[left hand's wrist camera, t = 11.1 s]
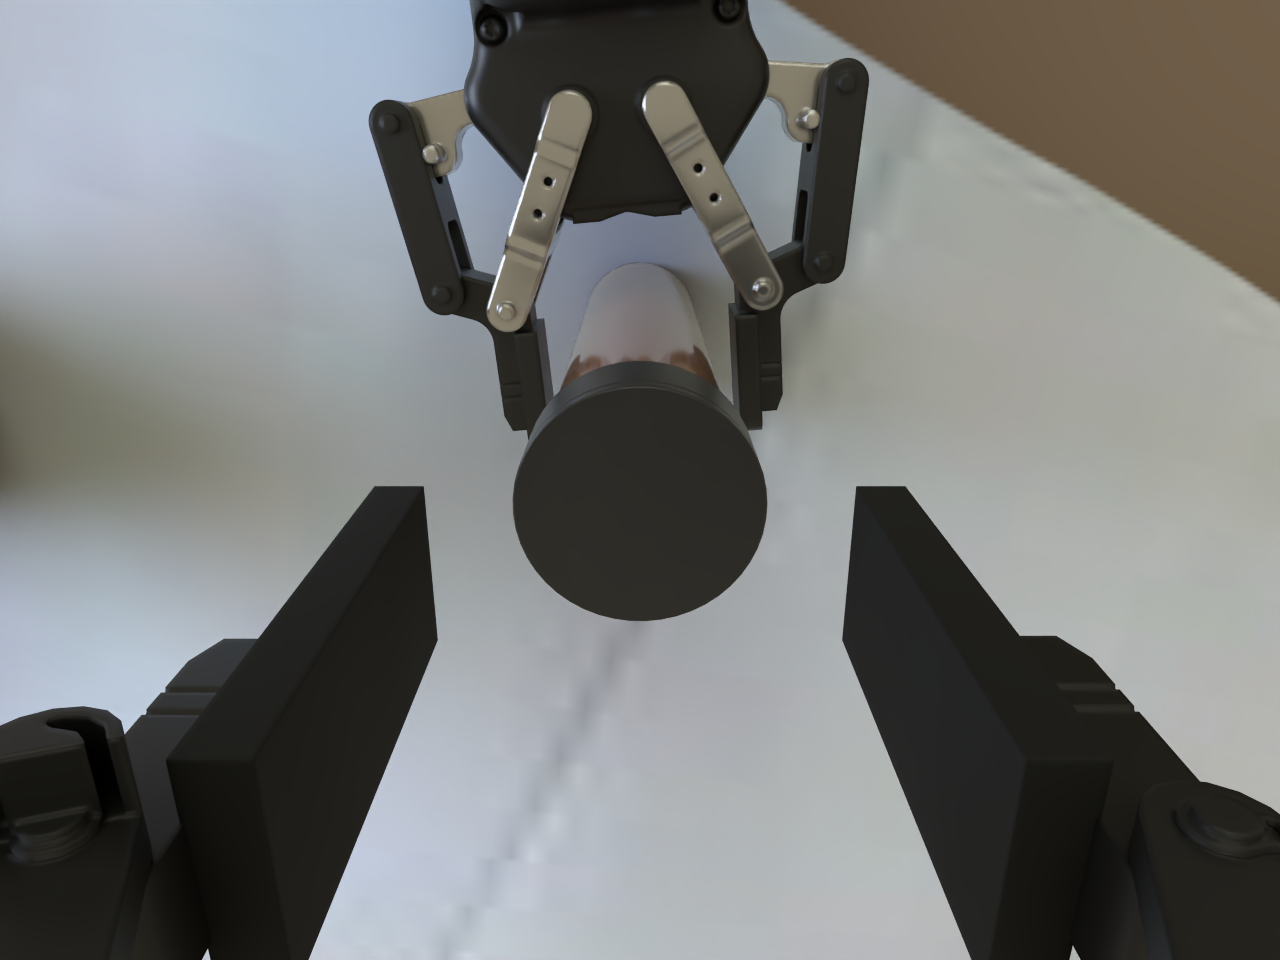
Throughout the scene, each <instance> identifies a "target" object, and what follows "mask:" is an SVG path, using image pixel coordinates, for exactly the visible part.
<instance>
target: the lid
mask: <svg viewBox="0 0 1280 960" xmlns="http://www.w3.org/2000/svg"><path fill="white" fill-rule="evenodd" d="M766 514H767V491H766V484H765V480H764V475H763V471H762V469H761V466H760V463H759V460H758V458H757V455H756V452H755V449H754V447H753V444H752V441H751V439H750V436H749V433H748V430H747V428H746V426H745V424H744V422H743V420H742V418H741V416H740V414H739V413H738V412H737V410H736V409H735V407H734V406H733V405H732V403H731V402H730V401H729V400H728V399H727V398H726V397H725V396H724V395H723V394H722V392H721V391H719V390H718V389H717V388H716V387H714V386H713V385H712V384H711V383H709V382H708V381H706V380H705V379H703V378H701V377H700V376H698V375H696V374H694V373H692V372H690V371H688V370H685V369H683V368H680V367H677V366H674V365H670V364H667V363H660V362H654V361H627V362H619V363H614V364H610V365H606V366H603V367H600V368H597V369H595V370H592V371H590V372H588V373H586V374H584V375H582V376H580V377H578V378H577V379H575V380H574V381H572V382H571V383H570V384H568V385H567V386H565V387H564V388H563V389H562V390H561V391H560V392H559V393H558V394H557V395H556V396H554V397H553V398H552V400H551V401H550V402H549V403H548V405H547V406H546V407H545V408H544V410H543V411H542V413H541V415H540V416H539V418H538V420H537V422H536V424H535V426H534V428H533V431H532V433H531V435H530V438H529V441H528V444H527V446H526V449H525V452H524V454H523V457H522V460H521V462H520V465H519V468H518V472H517V475H516V479H515V483H514V492H513V516H514V521H515V527H516V531H517V534H518V537H519V541H520V544H521V546H522V548H523V550H524V552H525V554H526V556H527V558H528V560H529V561H530V563H531V564H532V566H533V567H534V569H535V570H536V572H537V573H538V574H539V575H540V576H541V577H542V579H543V580H544V581H545V582H546V583H547V584H548V585H549V586H550V587H552V588H553V589H554V590H555V591H556V592H557V593H558V594H560V595H561V596H563V597H564V598H566V599H567V600H568V601H570V602H572V603H574V604H575V605H577V606H579V607H581V608H583V609H585V610H588V611H590V612H593V613H596V614H598V615H602V616H606V617H610V618H614V619H621V620H628V621H650V620H661V619H665V618H670V617H675V616H678V615H681V614H684V613H687V612H690V611H692V610H694V609H697V608H699V607H701V606H703V605H705V604H707V603H708V602H710V601H711V600H713V599H714V598H716V597H718V596H719V595H720V594H721V593H723V592H724V591H725V590H726V589H727V588H729V587H730V586H731V585H732V584H733V583H734V582H735V581H736V580H737V578H738V577H739V576H740V575H741V574H742V573H743V571H744V570H745V569H746V567H747V566H748V564H749V563H750V561H751V560H752V558H753V556H754V554H755V552H756V550H757V548H758V546H759V543H760V540H761V538H762V535H763V531H764V526H765V522H766Z"/></svg>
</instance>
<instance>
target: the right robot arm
mask: <svg viewBox="0 0 1280 960" xmlns="http://www.w3.org/2000/svg"><path fill="white" fill-rule="evenodd" d="M470 7H471V14H472V22H473V29H474V52H473V59H472V63H471V67H470V70H469V72H468V75H467V77H466V81H465V85H464V89H463V90H459V91H455V92H451V93H447V94H443V95H439V96H435V97H431V98H427V99H423V100H419V101H415V102H411V103H407V102H401V101H395V100H384V101H381V102H379V103H377V104H376V105H375V106H374V107H373V109H372V110H371V112H370V115H369V127H370V131H371V134H372V137H373V140H374V143H375V147H376V150H377V153H378V156H379V159H380V163H381V166H382V169H383V172H384V175H385V179H386V182H387V185H388V188H389V191H390V195H391V198H392V201H393V204H394V208H395V211H396V214H397V217H398V220H399V224H400V227H401V230H402V233H403V236H404V240H405V243H406V246H407V249H408V252H409V256H410V259H411V262H412V265H413V268H414V272H415V275H416V278H417V281H418V284H419V288H420V291H421V294H422V297H423V300H424V303H425V304H426V306H427V307H428V308H429V309H430V310H431V311H432V312H434V313H436V314H439V315H450V314H454V315H458V316H461V317H465V318H469V319H473V320H476V321H478V322H480V323H482V324H483V325H484V326H485V327H486V328H487V329H488V330H489V331H490V333H491V335H492V337H493V341H494V347H495V353H496V360H497V367H498V374H499V381H500V388H501V395H502V402H503V409H504V416H505V418H506V419H507V421H508V423H509V425H510V426H511V428H512V430H513V431H518V430H527V434H528V440H529V438H530V435H531V433H532V431H533V428H534V426H535V424H536V422H537V420H538V418H539V416H540V415H541V413H542V411H543V410H544V408H545V407H546V406H547V405H548V403H549V402H550V401H551V400H552V398H553V397H554V395H553V387H552V379H551V371H550V363H549V355H548V346H547V338H546V330H545V322H544V319H537V317H536V309H535V304H536V301H537V298H538V295H539V292H540V289H541V286H542V283H543V280H544V277H545V275H546V272H547V269H548V266H549V263H550V260H551V257H552V254H553V252H554V249H555V247H556V244H557V241H558V238H559V236H560V233H561V230H562V227H563V224H564V221H565V219H567V220H571V221H573V224H578V223H589V222H600V221H603V220H605V219H608V218H610V217H613V216H616V215H618V214H621V213H624V212H633V213H638V214H644V215H649V216H654V217H656V216H667V215H679V214H682V212H681V211H684V210H686V209H688V208H690V207H692V208H693V210H694V211H695V213H696V215H697V217H698V219H699V221H700V222H701V224H702V226H703V228H704V230H705V231H706V233H707V235H708V237H709V238H710V240H711V242H712V244H713V246H714V247H715V249H716V251H717V253H718V255H719V256H720V258H721V260H722V262H723V264H724V266H725V267H726V269H727V271H728V273H729V275H730V277H731V278H732V280H733V282H734V290H735V303H729V304H728V307H729V327H730V347H731V366H732V386H733V405H734V407H735V409H736V410H737V412H738V413H739V414H740V416H741V418H742V420H743V422H744V424H745V426H746V428H747V430H748V431H749V430H761V429H762V411H771V410H777V408H778V405H779V402H780V400H781V397H782V394H783V391H782V363H781V361H782V358H781V325H780V315H781V311H782V308H783V306H784V304H785V302H786V301H787V300H788V299H789V298H790V297H791V296H792V295H794V294H795V293H797V292H799V291H802V290H804V289H806V288H808V287H810V286H813V285H815V284H817V283H820V284H826V283H830V282H832V281H834V280H836V279H837V278H838V277H839V276H840V275H841V273H842V271H843V269H844V266H845V260H846V252H847V245H848V237H849V230H850V222H851V214H852V207H853V199H854V192H855V184H856V177H857V169H858V161H859V154H860V146H861V139H862V131H863V123H864V116H865V108H866V101H867V93H868V86H869V76H868V72H867V70H866V68H865V66H864V65H863V64H862V63H861V62H859V61H858V60H856V59H852V58H844V59H838V60H835V61H832V62H830V63H828V64H817V63H801V62H784V61H768V59H767V56H766V54H765V52H764V50H763V48H762V47H761V45H760V43H759V42H758V40H757V38H756V36H755V33H754V31H753V28H752V25H751V22H750V17H749V11H748V0H470ZM764 98H767V99H769V100H771V101H773V102H774V103H775V104H776V105H777V106H778V108H779V110H780V113H781V117H782V128H783V131H784V133H785V135H786V136H787V137H788V138H789V139H790V140H792V141H794V142H798V143H802V152H801V161H800V170H799V179H798V188H797V197H796V206H795V215H794V224H793V233H792V242H791V243H788V244H786V245H784V246H782V247H780V248H778V249H775V250H773V251H771V252H769V253H767V251H766V249H765V247H764V245H763V243H762V242H761V240H760V238H759V236H758V234H757V232H756V230H755V228H754V226H753V223H752V221H751V219H750V217H749V215H748V213H747V211H746V209H745V207H744V205H743V203H742V201H741V199H740V198H739V196H738V194H737V192H736V190H735V188H734V186H733V184H732V182H731V181H730V179H729V177H728V175H727V173H726V171H725V169H724V167H723V166H724V164H725V163H726V161H727V159H728V158H729V156H730V154H731V153H732V151H733V149H734V148H735V146H736V144H737V143H738V141H739V139H740V138H741V136H742V134H743V133H744V131H745V129H746V128H747V126H748V124H749V123H750V121H751V119H752V118H753V116H754V114H755V113H756V111H757V109H758V108H759V106H760V104H761V103H762V101H763V99H764ZM473 125H474V126H475V127H476V128H477V129H478V130H479V132H480V133H481V134H482V135H483V136H484V137H485V138H486V140H487V141H488V142H489V143H490V144H491V145H492V147H493V148H494V149H495V150H496V151H497V152H498V154H499V155H500V156H501V157H502V158H503V159H504V160H505V162H506V163H507V164H508V165H509V166H510V167H511V169H512V170H513V171H514V172H515V173H516V174H517V175H518V177H519V178H520V179H521V180H522V181H523V182H524V185H523V188H522V191H521V195H520V198H519V201H518V204H517V207H516V210H515V213H514V217H513V220H512V223H511V226H510V229H509V232H508V236H507V239H506V243H505V250H504V254H503V257H502V260H501V263H500V266H499V269H498V273H497V276H495V275H491V274H488V273H484V272H480V271H476V270H474V267H473V264H472V260H471V257H470V253H469V250H468V247H467V243H466V240H465V236H464V233H463V229H462V226H461V222H460V219H459V215H458V212H457V208H456V205H455V202H454V198H453V195H452V191H451V188H450V184H449V181H448V177H447V175H449V174H452V173H454V172H455V171H456V170H457V169H458V168H459V167H460V165H461V162H462V158H463V152H462V139H463V136H464V134H465V132H466V131H467V130H468V129H469V128H470V127H472V126H473Z"/></svg>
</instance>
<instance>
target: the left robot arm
mask: <svg viewBox="0 0 1280 960" xmlns="http://www.w3.org/2000/svg"><path fill="white" fill-rule="evenodd" d="M437 641H438V638H437V627H436V616H435V605H434V594H433V583H432V572H431V561H430V550H429V539H428V528H427V517H426V507H425V496H424V486H375V487H374V488H373V489H372V491H371V492H370V493H369V494H368V496H367V497H366V498H365V500H364V501H363V502H362V504H361V505H360V506H359V508H358V509H357V510H356V511H355V513H354V514H353V515H352V517H351V518H350V519H349V521H348V522H347V523H346V525H345V526H344V527H343V528H342V530H341V531H340V532H339V534H338V535H337V536H336V538H335V539H334V540H333V542H332V543H331V544H330V545H329V547H328V548H327V549H326V551H325V552H324V553H323V555H322V556H321V557H320V559H319V560H318V561H317V562H316V564H315V565H314V566H313V568H312V569H311V570H310V572H309V573H308V574H307V576H306V577H305V578H304V579H303V581H302V582H301V583H300V585H299V586H298V587H297V589H296V590H295V591H294V593H293V594H292V595H291V596H290V598H289V599H288V600H287V602H286V603H285V604H284V606H283V607H282V608H281V610H280V611H279V612H278V613H277V615H276V616H275V617H274V619H273V620H272V621H271V623H270V624H269V625H268V627H267V628H266V629H265V630H264V632H263V633H262V634H261V636H260V637H259V638H258V639H223V640H222V641H220V642H218V643H217V644H215V645H214V646H212V647H210V648H209V649H207V650H205V651H204V652H202V653H201V654H199V655H197V656H196V657H194V658H193V659H191V660H189V661H188V662H187V663H186V664H185V666H184V667H183V668H182V669H181V670H180V671H179V673H178V674H177V675H176V676H175V677H174V678H173V679H172V681H171V682H170V683H169V684H168V685H167V686H166V690H165V693H160V694H159V696H158V697H157V698H156V699H155V700H154V701H153V703H152V704H151V705H150V706H149V707H148V708H147V713H146V715H141V716H140V718H139V719H138V720H137V721H136V722H135V723H134V724H133V726H132V727H131V728H130V729H129V730H128V731H127V733H126V734H125V735H124V731H123V727H122V723H121V720H119V719H118V718H117V717H115V716H114V715H113V714H111V713H110V712H109V711H107V710H102V709H96V708H90V707H85V706H82V707H69V708H57V709H50V710H46V711H43V712H39V713H35V714H31V715H27V716H23V717H19V718H17V719H15V720H12V721H10V722H8V723H5V724H3V725H1V726H0V960H202V958H203V956H204V955H205V953H206V951H207V949H208V950H209V955H210V959H211V960H309V957H310V955H311V952H312V950H313V947H314V945H315V942H316V940H317V937H318V935H319V932H320V930H321V927H322V925H323V923H324V920H325V918H326V915H327V913H328V910H329V908H330V905H331V903H332V900H333V898H334V895H335V893H336V890H337V888H338V885H339V883H340V880H341V878H342V876H343V873H344V871H345V868H346V866H347V863H348V861H349V858H350V856H351V853H352V851H353V848H354V846H355V843H356V841H357V838H358V836H359V833H360V831H361V829H362V826H363V824H364V821H365V819H366V816H367V814H368V811H369V809H370V806H371V804H372V801H373V799H374V796H375V794H376V791H377V789H378V786H379V784H380V782H381V779H382V777H383V774H384V772H385V769H386V767H387V764H388V762H389V759H390V757H391V754H392V752H393V749H394V747H395V744H396V742H397V739H398V737H399V735H400V732H401V730H402V727H403V725H404V722H405V720H406V717H407V715H408V712H409V710H410V707H411V705H412V702H413V700H414V697H415V695H416V692H417V690H418V688H419V685H420V683H421V680H422V678H423V675H424V673H425V670H426V668H427V665H428V663H429V660H430V658H431V655H432V653H433V650H434V648H435V645H436V643H437ZM842 641H843V643H844V645H845V648H846V650H847V653H848V655H849V658H850V660H851V663H852V665H853V668H854V670H855V673H856V675H857V678H858V680H859V683H860V685H861V688H862V690H863V692H864V695H865V697H866V700H867V702H868V705H869V707H870V710H871V712H872V715H873V717H874V720H875V722H876V725H877V727H878V730H879V732H880V735H881V737H882V739H883V742H884V744H885V747H886V749H887V752H888V754H889V757H890V759H891V762H892V764H893V767H894V769H895V772H896V774H897V777H898V779H899V782H900V784H901V786H902V789H903V791H904V794H905V796H906V799H907V801H908V804H909V806H910V809H911V811H912V814H913V816H914V819H915V821H916V824H917V826H918V829H919V831H920V833H921V836H922V838H923V841H924V843H925V846H926V848H927V851H928V853H929V856H930V858H931V861H932V863H933V866H934V868H935V871H936V873H937V876H938V878H939V880H940V883H941V885H942V888H943V890H944V893H945V895H946V898H947V900H948V903H949V905H950V908H951V910H952V913H953V915H954V918H955V920H956V923H957V925H958V927H959V930H960V932H961V935H962V937H963V940H964V942H965V945H966V947H967V950H968V952H969V955H970V957H971V960H1069V959H1070V955H1071V950H1072V946H1074V948H1075V950H1076V952H1077V954H1078V956H1079V957H1080V959H1081V960H1280V814H1279V813H1277V812H1276V811H1275V810H1273V809H1272V808H1271V807H1269V806H1267V805H1265V804H1263V803H1261V802H1259V801H1257V800H1255V799H1253V798H1251V797H1249V796H1247V795H1245V794H1243V793H1241V792H1238V791H1235V790H1231V789H1228V788H1224V787H1221V786H1218V785H1214V784H1211V783H1208V782H1200V781H1199V780H1198V779H1197V778H1196V777H1195V775H1194V774H1193V773H1192V772H1191V771H1190V770H1189V768H1188V767H1187V766H1186V765H1185V764H1184V763H1183V762H1182V760H1181V759H1180V758H1179V757H1178V756H1177V755H1176V754H1175V752H1174V751H1173V750H1172V749H1171V748H1170V747H1169V746H1168V744H1167V743H1166V742H1165V741H1164V740H1163V739H1162V738H1161V736H1160V735H1159V734H1158V733H1157V732H1156V731H1155V730H1154V728H1153V727H1152V726H1151V725H1150V724H1149V723H1148V721H1147V720H1146V719H1145V718H1144V717H1143V716H1142V715H1141V713H1140V712H1135V711H1134V705H1133V704H1132V703H1131V702H1130V701H1129V700H1128V699H1127V697H1126V696H1125V695H1124V694H1123V693H1122V692H1121V691H1120V690H1116V689H1115V684H1114V682H1113V681H1112V680H1111V679H1110V678H1109V677H1108V676H1107V674H1106V673H1105V672H1104V671H1103V670H1102V669H1101V668H1100V666H1099V665H1098V664H1097V663H1096V662H1095V661H1094V660H1093V658H1091V657H1090V656H1088V655H1086V654H1085V653H1083V652H1081V651H1080V650H1078V649H1077V648H1075V647H1073V646H1072V645H1070V644H1069V643H1067V642H1065V641H1064V640H1062V639H1060V638H1059V637H1057V636H1019V634H1018V633H1017V632H1016V630H1015V629H1014V628H1013V627H1012V625H1011V624H1010V623H1009V621H1008V620H1007V619H1006V617H1005V616H1004V615H1003V613H1002V612H1001V611H1000V610H999V608H998V607H997V606H996V604H995V603H994V602H993V600H992V599H991V598H990V596H989V595H988V594H987V593H986V591H985V590H984V589H983V587H982V586H981V585H980V583H979V582H978V581H977V579H976V578H975V577H974V576H973V574H972V573H971V572H970V570H969V569H968V568H967V566H966V565H965V564H964V562H963V561H962V560H961V559H960V557H959V556H958V555H957V553H956V552H955V551H954V549H953V548H952V547H951V545H950V544H949V543H948V542H947V540H946V539H945V538H944V536H943V535H942V534H941V532H940V531H939V530H938V528H937V527H936V526H935V525H934V523H933V522H932V521H931V519H930V518H929V517H928V515H927V514H926V513H925V511H924V510H923V509H922V508H921V506H920V505H919V504H918V502H917V501H916V500H915V498H914V497H913V496H912V494H911V493H910V492H909V491H908V489H907V488H906V487H905V486H856V496H855V507H854V517H853V528H852V539H851V550H850V561H849V572H848V583H847V594H846V605H845V616H844V627H843V638H842Z"/></svg>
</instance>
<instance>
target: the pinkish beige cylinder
mask: <svg viewBox="0 0 1280 960" xmlns="http://www.w3.org/2000/svg"><path fill="white" fill-rule="evenodd" d="M627 361H654V362H660V363H667V364H670V365H674V366H677V367H680V368H683V369H685V370H688V371H690V372H692V373H694V374H696V375H698V376H700V377H701V378H703V379H705V380H706V381H708V382H709V383H711V384H712V385H713V386H714V387H716V388H717V389H718V390H719V391H720V389H719V386H718V383H717V379H716V376H715V373H714V370H713V367H712V364H711V361H710V358H709V354H708V351H707V348H706V345H705V342H704V339H703V336H702V332H701V329H700V326H699V323H698V320H697V317H696V314H695V310H694V307H693V304H692V301H691V298H690V296H689V293H688V291H687V290H686V288H685V286H684V285H683V284H682V282H681V281H680V280H679V279H678V278H677V277H676V276H675V275H674V274H672V273H671V272H669V271H668V270H666V269H664V268H662V267H660V266H657V265H654V264H649V263H630V264H626V265H623V266H620V267H618V268H616V269H614V270H612V271H610V272H609V273H608V274H606V275H605V276H604V277H603V278H602V279H601V280H600V281H599V282H598V284H597V285H596V286H595V288H594V290H593V291H592V293H591V296H590V298H589V301H588V304H587V307H586V310H585V314H584V317H583V320H582V323H581V326H580V329H579V332H578V336H577V339H576V342H575V345H574V348H573V351H572V354H571V357H570V361H569V364H568V367H567V370H566V373H565V376H564V379H563V383H562V386H561V389H560V391H561V390H562V389H563V388H564V387H565V386H567V385H568V384H570V383H571V382H572V381H574V380H575V379H577V378H578V377H580V376H582V375H584V374H586V373H588V372H590V371H592V370H595V369H597V368H600V367H603V366H606V365H610V364H614V363H619V362H627Z"/></svg>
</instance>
